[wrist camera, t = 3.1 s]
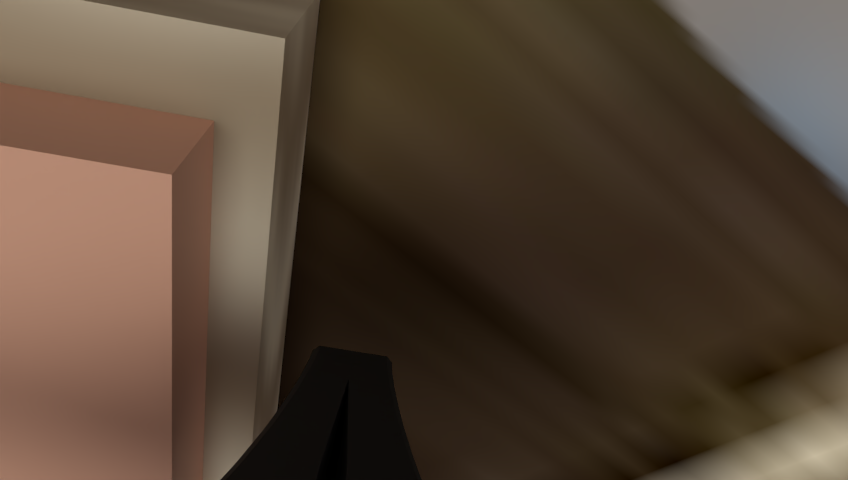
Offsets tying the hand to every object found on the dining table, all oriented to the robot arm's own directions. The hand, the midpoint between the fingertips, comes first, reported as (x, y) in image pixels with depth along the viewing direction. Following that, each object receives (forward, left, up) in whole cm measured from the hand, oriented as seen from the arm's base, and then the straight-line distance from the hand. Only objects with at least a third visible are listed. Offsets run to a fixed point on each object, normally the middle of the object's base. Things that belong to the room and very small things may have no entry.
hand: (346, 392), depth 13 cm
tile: (0, +6, -1) cm, 6 cm away
